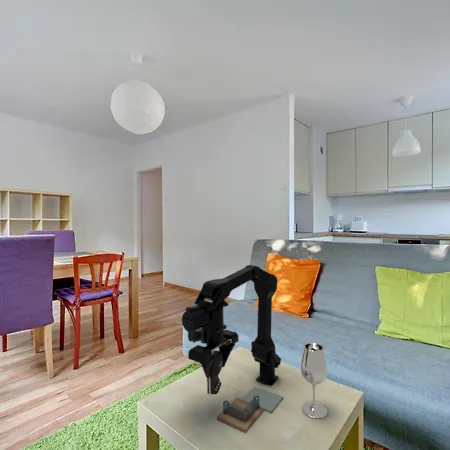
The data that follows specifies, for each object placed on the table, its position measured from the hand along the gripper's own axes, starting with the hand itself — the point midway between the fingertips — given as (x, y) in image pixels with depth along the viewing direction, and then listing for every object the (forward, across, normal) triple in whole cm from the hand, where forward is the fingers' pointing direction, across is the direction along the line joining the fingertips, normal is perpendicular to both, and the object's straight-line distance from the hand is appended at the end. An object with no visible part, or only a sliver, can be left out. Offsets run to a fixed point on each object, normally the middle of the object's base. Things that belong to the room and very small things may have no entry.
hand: (215, 372), depth 91 cm
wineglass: (+13, -17, +25) cm, 33 cm away
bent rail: (+11, -4, +7) cm, 14 cm away
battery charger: (+6, 0, 0) cm, 6 cm away
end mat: (+12, -13, +9) cm, 20 cm away
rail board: (+12, -2, +7) cm, 15 cm away
